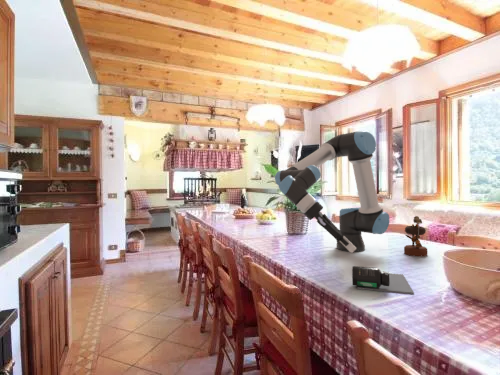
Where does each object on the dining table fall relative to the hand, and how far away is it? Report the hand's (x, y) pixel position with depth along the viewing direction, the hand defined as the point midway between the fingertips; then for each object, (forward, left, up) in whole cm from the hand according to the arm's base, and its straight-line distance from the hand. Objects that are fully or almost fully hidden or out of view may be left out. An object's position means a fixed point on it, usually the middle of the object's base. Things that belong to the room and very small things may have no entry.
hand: (353, 250), depth 112 cm
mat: (+8, +5, -11) cm, 15 cm away
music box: (+2, +59, -11) cm, 60 cm away
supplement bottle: (+3, -8, -7) cm, 11 cm away
